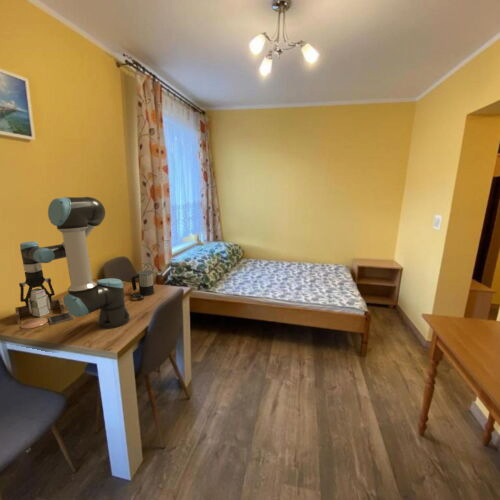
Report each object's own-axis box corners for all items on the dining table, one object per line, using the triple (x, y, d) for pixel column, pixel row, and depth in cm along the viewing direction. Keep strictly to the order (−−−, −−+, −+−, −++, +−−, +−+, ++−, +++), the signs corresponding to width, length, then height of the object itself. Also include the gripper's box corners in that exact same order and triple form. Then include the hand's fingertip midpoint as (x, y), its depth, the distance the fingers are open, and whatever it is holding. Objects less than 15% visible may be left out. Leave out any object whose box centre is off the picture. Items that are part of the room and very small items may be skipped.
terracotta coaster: (48, 324, 141) (48, 323, 141) (21, 331, 134) (21, 330, 134) (46, 316, 149) (46, 315, 149) (20, 323, 142) (20, 322, 142)
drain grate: (73, 319, 147) (73, 318, 146) (50, 325, 140) (50, 324, 140) (70, 312, 154) (69, 311, 154) (48, 318, 147) (48, 317, 147)
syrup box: (50, 312, 154) (46, 288, 151) (39, 317, 148) (35, 292, 145) (42, 311, 155) (38, 287, 152) (31, 316, 150) (27, 291, 147)
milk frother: (154, 290, 189) (152, 269, 186) (156, 298, 175) (154, 276, 172) (131, 293, 183) (129, 272, 180) (132, 302, 169) (130, 279, 166)
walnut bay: (64, 312, 154) (63, 304, 153) (17, 324, 141) (15, 315, 140) (61, 306, 163) (60, 298, 162) (16, 316, 150) (15, 307, 149)
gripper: (55, 265, 156) (61, 303, 160) (8, 272, 142) (16, 313, 147) (57, 268, 150) (63, 307, 155) (8, 275, 137) (16, 318, 142)
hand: (40, 310), depth 151 cm, fingers closed on syrup box, 7 cm apart
